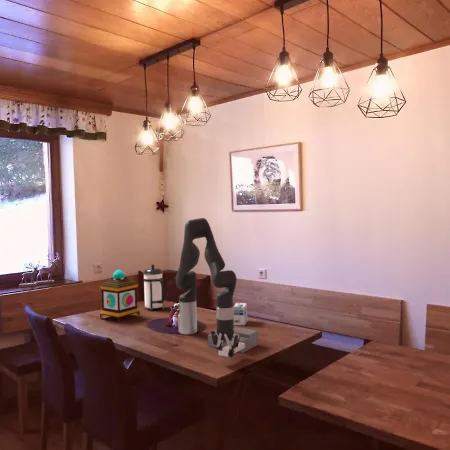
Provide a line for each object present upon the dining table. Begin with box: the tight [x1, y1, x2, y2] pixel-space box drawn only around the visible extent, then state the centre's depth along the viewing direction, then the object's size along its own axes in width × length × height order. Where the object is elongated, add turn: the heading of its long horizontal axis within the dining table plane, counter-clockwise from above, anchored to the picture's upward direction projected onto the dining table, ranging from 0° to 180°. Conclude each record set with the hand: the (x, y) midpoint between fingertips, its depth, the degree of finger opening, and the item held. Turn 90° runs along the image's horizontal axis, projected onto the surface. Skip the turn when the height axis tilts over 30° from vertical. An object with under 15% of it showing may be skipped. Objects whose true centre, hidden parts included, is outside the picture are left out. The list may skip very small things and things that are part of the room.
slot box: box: [207, 326, 259, 354], centre depth 216 cm, size 20×14×7 cm
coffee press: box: [142, 264, 166, 312], centre depth 295 cm, size 17×16×30 cm
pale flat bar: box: [217, 342, 245, 358], centre depth 194 cm, size 5×14×2 cm, turn 147°
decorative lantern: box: [99, 269, 140, 323], centre depth 274 cm, size 20×20×30 cm
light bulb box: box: [233, 302, 248, 326], centre depth 256 cm, size 11×7×11 cm, turn 168°
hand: (225, 355), depth 190 cm, fingers closed on pale flat bar, 5 cm apart
